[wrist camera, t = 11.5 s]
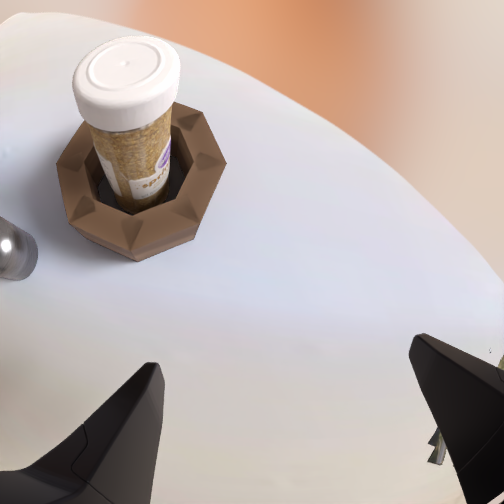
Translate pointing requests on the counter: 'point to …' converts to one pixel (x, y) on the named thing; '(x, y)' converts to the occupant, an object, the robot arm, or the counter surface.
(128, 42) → the sprinkles bottle
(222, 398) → the counter surface
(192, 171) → the walnut collar
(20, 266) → the short metal stub
